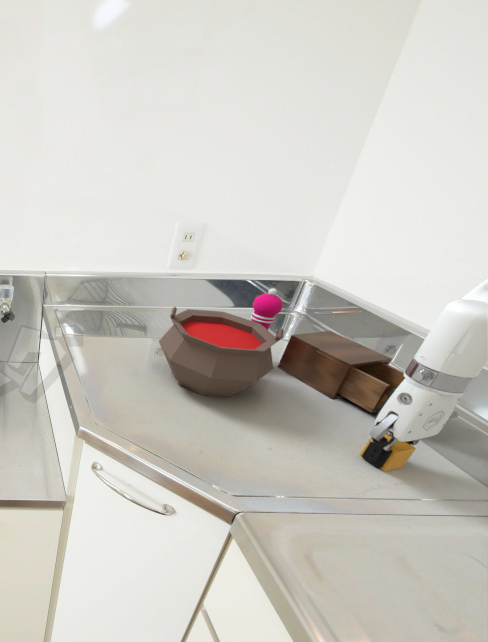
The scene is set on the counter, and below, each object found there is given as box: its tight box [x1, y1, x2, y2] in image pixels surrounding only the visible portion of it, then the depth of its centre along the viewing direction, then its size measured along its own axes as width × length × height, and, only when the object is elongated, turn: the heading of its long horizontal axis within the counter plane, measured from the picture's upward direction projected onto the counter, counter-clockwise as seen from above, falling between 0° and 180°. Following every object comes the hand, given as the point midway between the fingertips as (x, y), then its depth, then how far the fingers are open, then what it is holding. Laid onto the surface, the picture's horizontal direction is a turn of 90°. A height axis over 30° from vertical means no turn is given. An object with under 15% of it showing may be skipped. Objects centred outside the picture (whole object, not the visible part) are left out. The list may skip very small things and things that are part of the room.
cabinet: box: [277, 330, 393, 400], centre depth 101 cm, size 15×13×9 cm
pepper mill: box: [250, 287, 284, 331], centre depth 104 cm, size 7×7×20 cm
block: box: [359, 434, 417, 472], centre depth 76 cm, size 4×4×4 cm
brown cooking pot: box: [158, 306, 285, 398], centre depth 96 cm, size 24×24×16 cm
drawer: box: [338, 363, 459, 419], centre depth 90 cm, size 20×11×7 cm, turn 16°
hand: (381, 459), depth 77 cm, fingers closed on block, 4 cm apart
